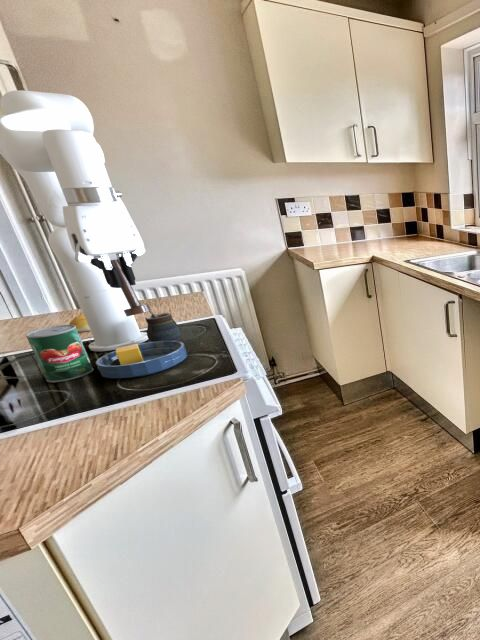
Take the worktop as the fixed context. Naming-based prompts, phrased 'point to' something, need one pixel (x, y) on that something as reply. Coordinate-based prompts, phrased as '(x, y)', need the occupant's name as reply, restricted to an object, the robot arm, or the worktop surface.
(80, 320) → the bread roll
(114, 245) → the robot arm
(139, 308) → the muddler
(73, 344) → the canned tomato
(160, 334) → the mate gourd
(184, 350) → the bowl
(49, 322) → the worktop surface
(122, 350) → the block
